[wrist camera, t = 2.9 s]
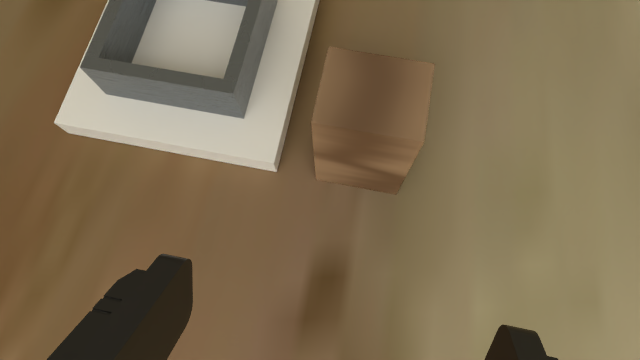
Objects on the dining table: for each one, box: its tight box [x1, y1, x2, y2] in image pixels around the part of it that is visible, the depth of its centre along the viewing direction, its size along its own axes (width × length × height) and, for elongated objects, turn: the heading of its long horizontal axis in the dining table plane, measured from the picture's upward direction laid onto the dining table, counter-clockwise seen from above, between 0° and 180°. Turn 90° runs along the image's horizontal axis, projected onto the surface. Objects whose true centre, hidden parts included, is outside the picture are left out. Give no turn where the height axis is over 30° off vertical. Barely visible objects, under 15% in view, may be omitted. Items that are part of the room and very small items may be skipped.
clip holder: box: [54, 0, 320, 172], centre depth 27 cm, size 14×14×4 cm
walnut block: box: [311, 47, 435, 194], centre depth 23 cm, size 5×4×8 cm
